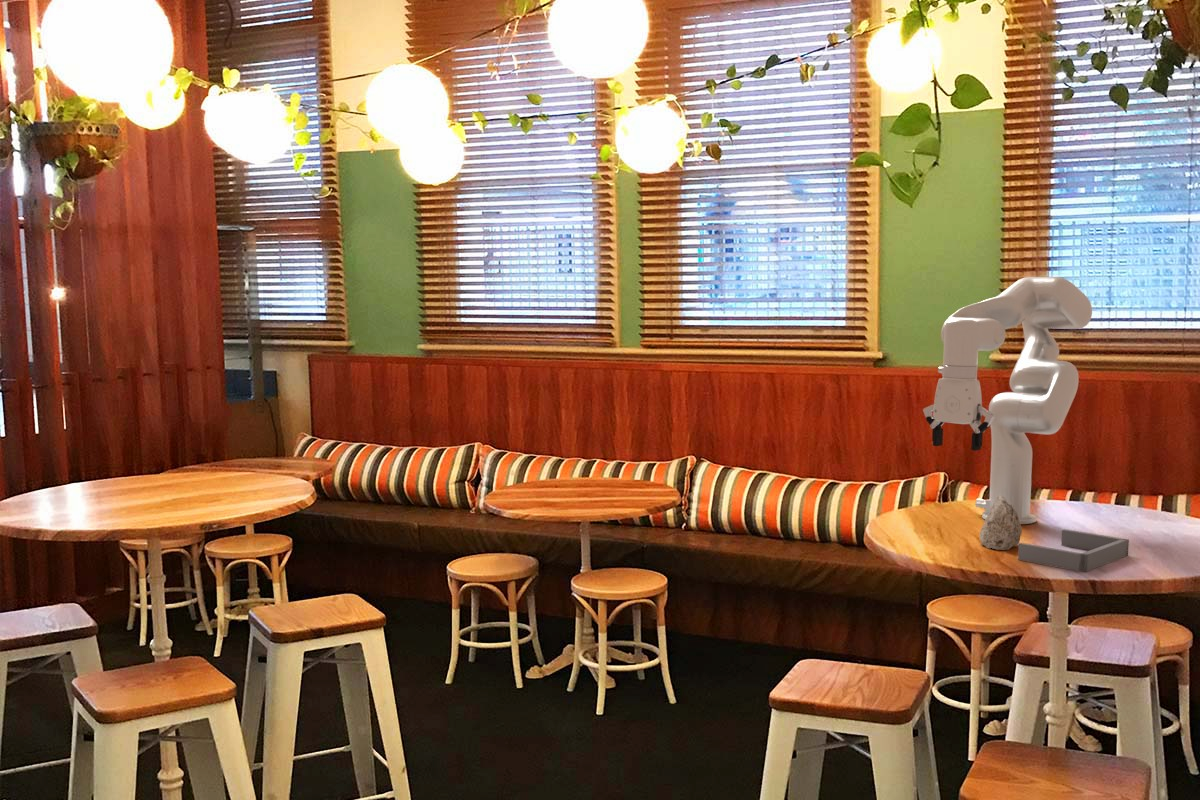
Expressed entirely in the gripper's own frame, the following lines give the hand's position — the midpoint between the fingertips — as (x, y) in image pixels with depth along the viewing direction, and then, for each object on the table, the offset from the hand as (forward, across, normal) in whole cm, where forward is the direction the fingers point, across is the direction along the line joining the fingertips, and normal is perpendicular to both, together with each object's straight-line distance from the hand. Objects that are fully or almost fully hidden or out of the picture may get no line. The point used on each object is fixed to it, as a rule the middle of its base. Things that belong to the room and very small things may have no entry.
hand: (956, 447), depth 266 cm
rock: (+21, +12, 0) cm, 24 cm away
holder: (+21, +28, 0) cm, 35 cm away
